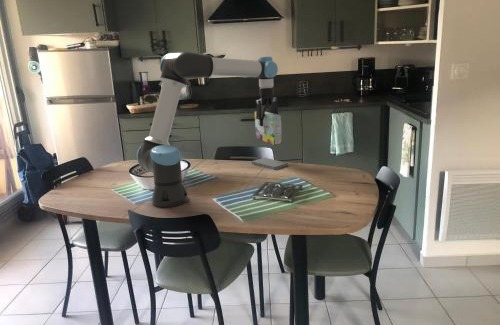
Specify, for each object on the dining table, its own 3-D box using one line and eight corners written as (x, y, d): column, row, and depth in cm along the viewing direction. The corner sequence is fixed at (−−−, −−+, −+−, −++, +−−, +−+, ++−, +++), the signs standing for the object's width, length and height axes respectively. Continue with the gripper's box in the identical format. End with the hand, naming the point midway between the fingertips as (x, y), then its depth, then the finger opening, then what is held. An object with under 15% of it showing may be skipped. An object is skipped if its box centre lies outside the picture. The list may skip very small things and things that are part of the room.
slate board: (287, 165, 215) (287, 163, 215) (274, 169, 209) (274, 167, 209) (265, 160, 229) (264, 157, 228) (251, 164, 222) (251, 161, 222)
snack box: (254, 138, 223) (253, 111, 219) (263, 137, 226) (263, 110, 222) (273, 145, 205) (272, 116, 201) (282, 144, 207) (282, 114, 203)
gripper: (274, 85, 217) (276, 127, 223) (247, 88, 204) (249, 133, 211) (284, 85, 211) (285, 128, 217) (257, 89, 199) (259, 134, 205)
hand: (268, 130), depth 214 cm, fingers closed on snack box, 7 cm apart
